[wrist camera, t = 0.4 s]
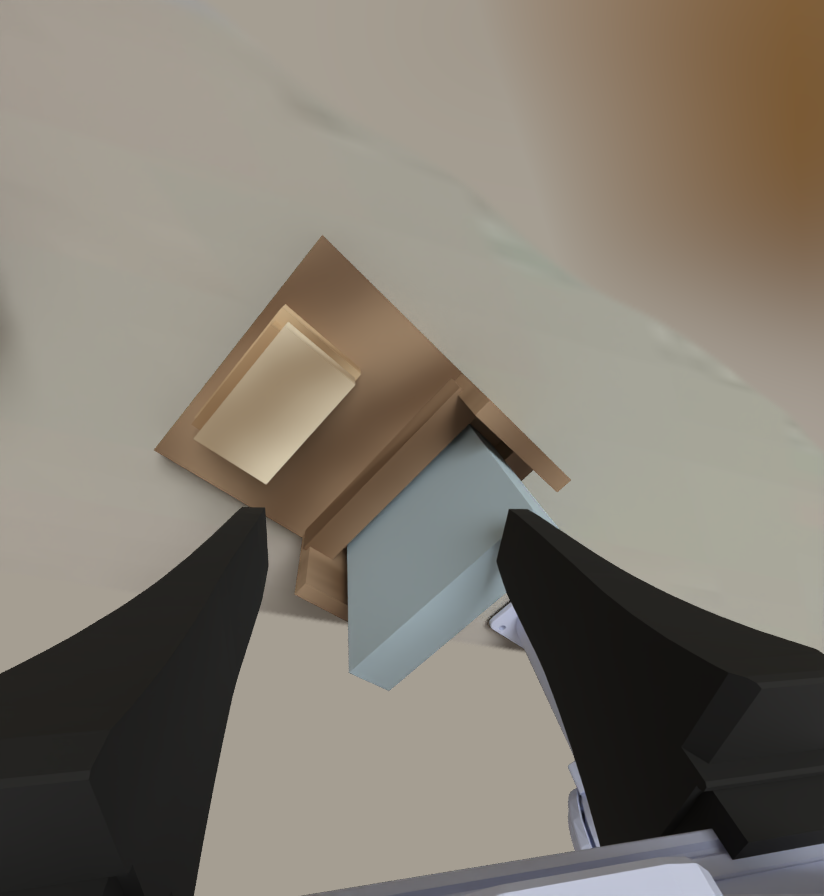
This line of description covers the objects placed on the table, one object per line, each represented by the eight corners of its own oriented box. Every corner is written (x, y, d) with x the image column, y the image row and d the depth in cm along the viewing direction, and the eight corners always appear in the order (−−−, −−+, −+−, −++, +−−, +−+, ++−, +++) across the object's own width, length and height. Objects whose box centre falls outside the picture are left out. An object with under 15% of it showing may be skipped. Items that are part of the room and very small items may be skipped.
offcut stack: (360, 368, 18) (363, 387, 15) (278, 460, 19) (268, 493, 16) (285, 304, 16) (273, 313, 14) (201, 409, 17) (176, 436, 15)
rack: (525, 435, 22) (573, 482, 17) (381, 571, 25) (390, 643, 20) (323, 236, 16) (315, 228, 12) (164, 439, 19) (106, 497, 14)
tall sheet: (490, 442, 20) (568, 540, 13) (374, 553, 22) (388, 691, 15) (464, 418, 20) (533, 510, 13) (347, 536, 22) (348, 673, 14)
